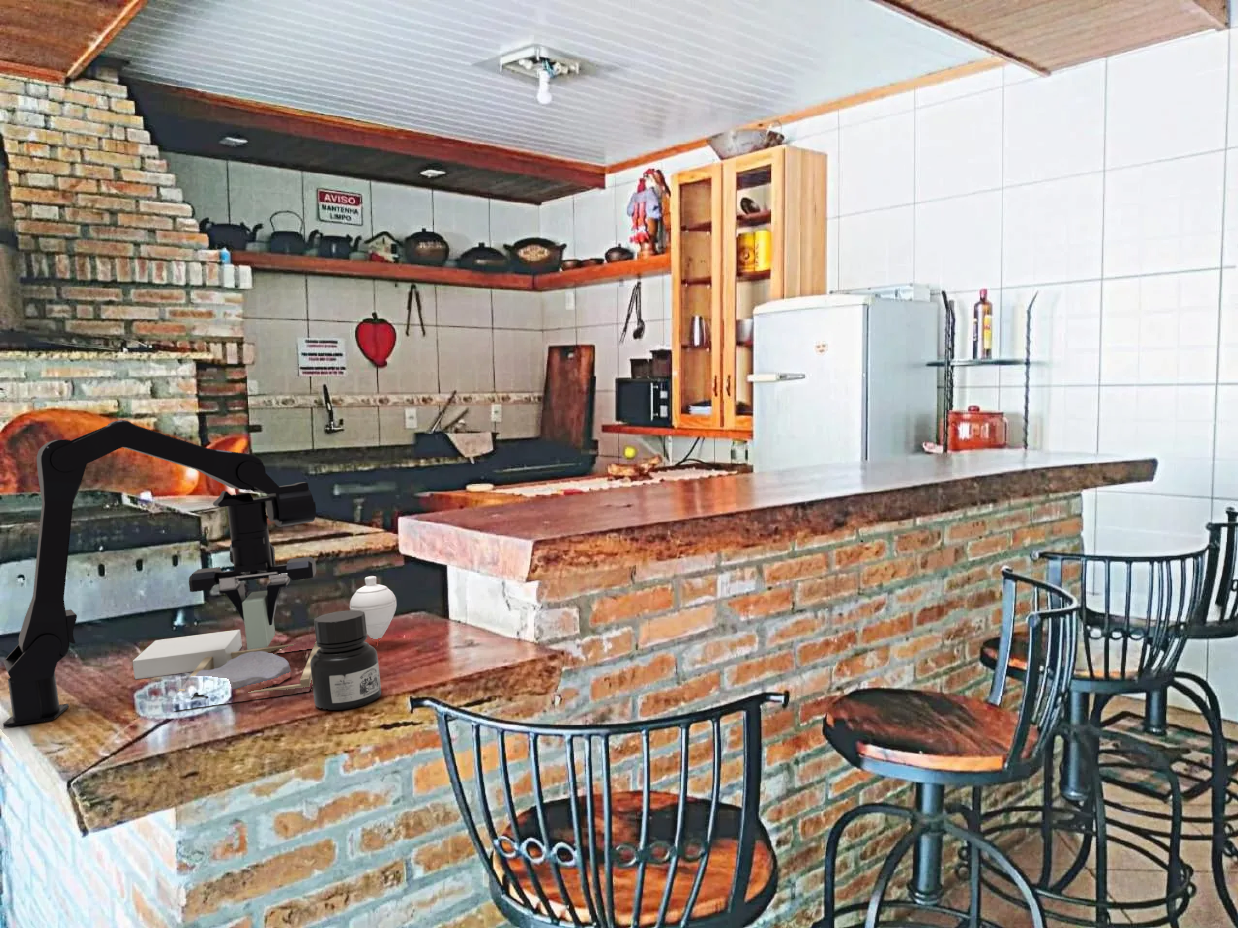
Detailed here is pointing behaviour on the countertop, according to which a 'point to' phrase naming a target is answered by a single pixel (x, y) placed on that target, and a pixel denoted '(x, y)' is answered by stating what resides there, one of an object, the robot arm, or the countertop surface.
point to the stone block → (250, 669)
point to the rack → (306, 676)
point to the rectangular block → (257, 621)
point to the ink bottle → (344, 662)
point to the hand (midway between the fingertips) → (260, 626)
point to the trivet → (186, 653)
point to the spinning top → (375, 606)
